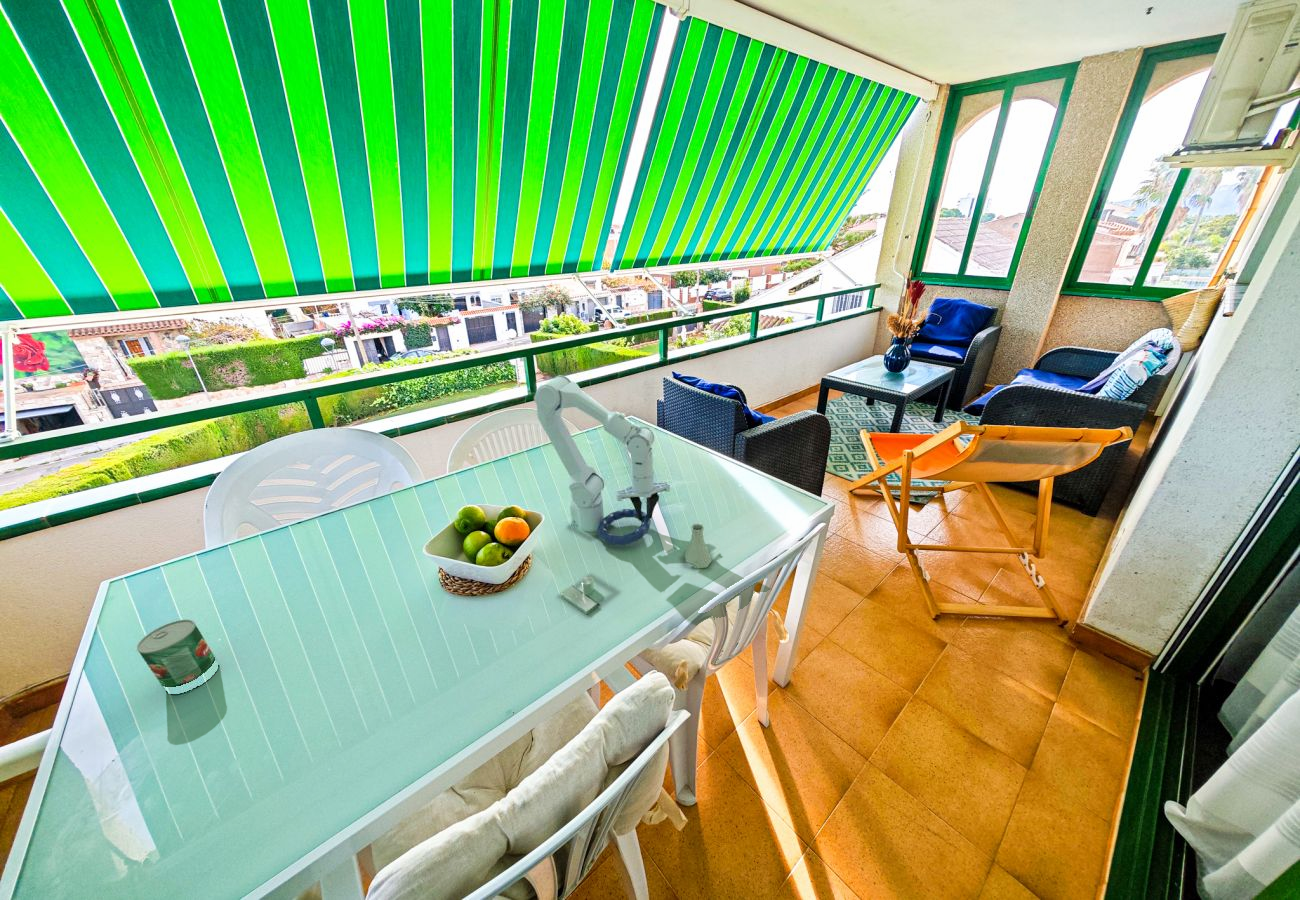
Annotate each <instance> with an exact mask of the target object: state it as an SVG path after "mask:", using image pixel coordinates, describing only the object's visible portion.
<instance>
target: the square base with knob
mask: <svg viewBox="0 0 1300 900" xmlns="http://www.w3.org/2000/svg"><path fill="white" fill-rule="evenodd" d="M594 586H595V585H594V579H593V577H591V576H585V577H583V578H582V579H581V589H582V590H580V589H578V588H576V587H575V586H574V585H571V586H570V587H568V588H566V589H565V590H564V591H563V592H561V593H560V598H562V599H564V600H565V601H566V602H568V603H569V604H571V605H572V606H573V607H575V608H576V609H578V610H579V611H581V612H582V613H583V614H585V615H586V616H587V615H589V614H590V613H591V612H593V611H594V610H595V609H597V608H598V607H600V606H601V603H599V602H598V601H596V600H594V598H592V597H590V596H589V595H592V594H593V593H594V592H595V587H594Z"/></svg>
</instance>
